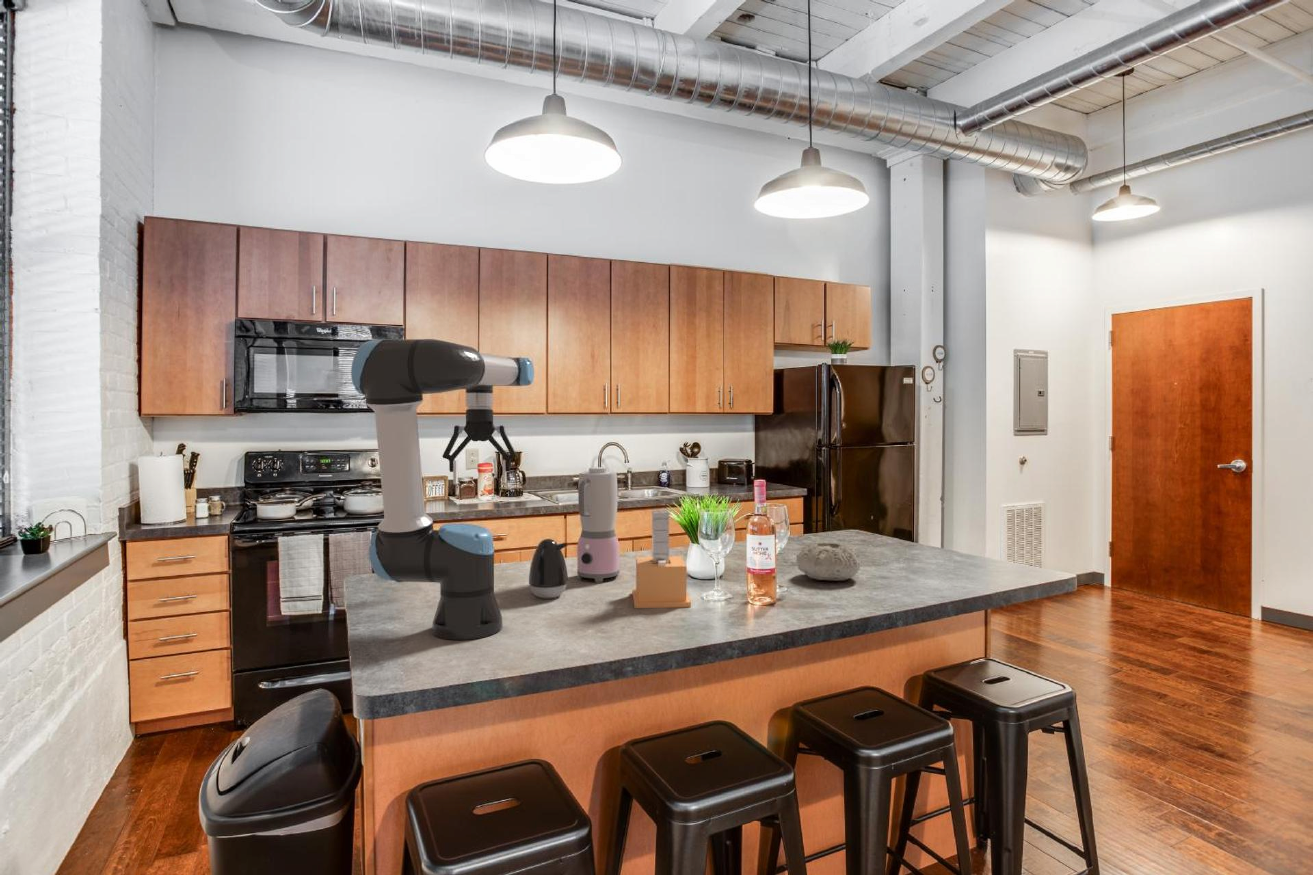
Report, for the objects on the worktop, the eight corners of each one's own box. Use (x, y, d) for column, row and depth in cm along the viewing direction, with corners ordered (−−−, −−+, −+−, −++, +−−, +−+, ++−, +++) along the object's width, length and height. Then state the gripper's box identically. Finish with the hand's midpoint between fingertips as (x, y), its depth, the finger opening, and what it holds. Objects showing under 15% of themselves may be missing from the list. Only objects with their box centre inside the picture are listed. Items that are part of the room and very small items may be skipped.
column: (670, 597, 183) (670, 512, 182) (652, 597, 182) (652, 513, 181) (668, 590, 189) (668, 509, 188) (651, 591, 188) (651, 509, 187)
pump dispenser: (561, 602, 183) (560, 543, 183) (522, 600, 186) (522, 541, 185) (573, 592, 193) (573, 535, 193) (537, 590, 195) (536, 534, 195)
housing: (690, 606, 179) (690, 563, 179) (634, 608, 178) (634, 564, 178) (684, 592, 193) (684, 551, 193) (632, 593, 192) (632, 552, 192)
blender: (592, 570, 218) (592, 465, 217) (627, 575, 212) (627, 467, 211) (562, 582, 204) (561, 469, 203) (598, 587, 198) (598, 471, 197)
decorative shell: (863, 587, 198) (863, 551, 198) (797, 585, 201) (797, 549, 200) (855, 572, 216) (856, 539, 215) (795, 570, 218) (795, 537, 218)
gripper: (525, 408, 208) (525, 481, 209) (436, 408, 206) (437, 482, 207) (523, 408, 201) (523, 484, 202) (431, 408, 198) (432, 485, 199)
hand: (480, 483), depth 204 cm, fingers open, 13 cm apart
